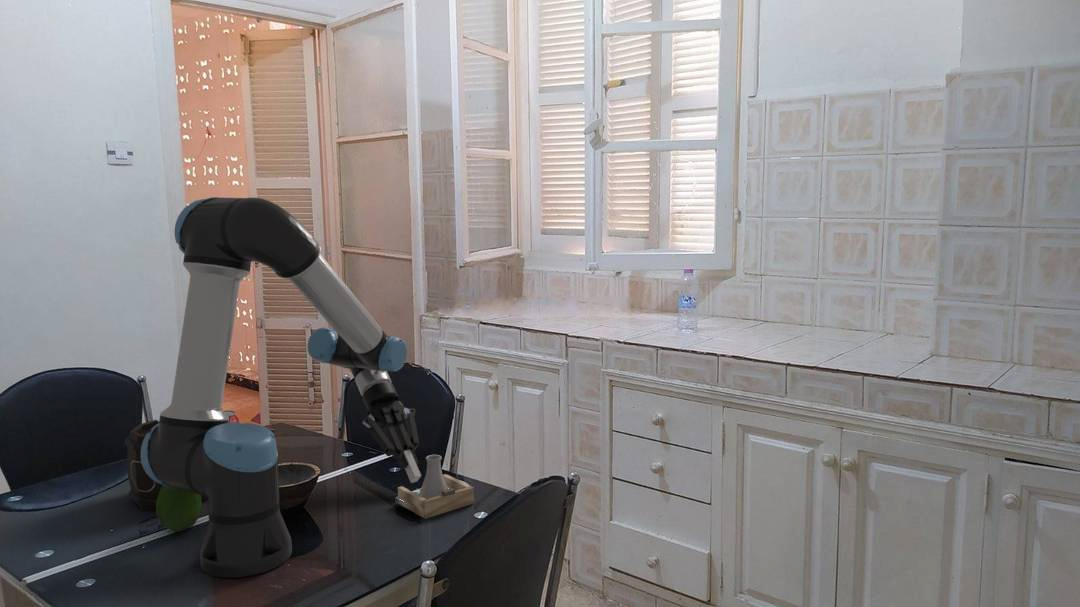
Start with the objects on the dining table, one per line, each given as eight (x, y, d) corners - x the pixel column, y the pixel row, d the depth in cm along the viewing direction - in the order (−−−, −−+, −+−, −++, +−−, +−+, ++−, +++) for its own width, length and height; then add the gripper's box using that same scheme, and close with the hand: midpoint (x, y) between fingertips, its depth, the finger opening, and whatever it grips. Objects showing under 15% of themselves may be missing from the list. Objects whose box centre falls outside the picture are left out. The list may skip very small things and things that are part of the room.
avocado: (208, 520, 150) (204, 462, 149) (195, 537, 143) (191, 476, 141) (166, 522, 149) (162, 463, 148) (150, 539, 142) (146, 478, 140)
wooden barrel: (211, 510, 155) (206, 436, 153) (117, 516, 152) (111, 440, 150) (232, 479, 173) (228, 412, 171) (149, 483, 170) (144, 416, 168)
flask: (434, 493, 164) (433, 449, 163) (459, 501, 160) (458, 455, 159) (409, 504, 158) (408, 458, 157) (435, 512, 154) (434, 465, 153)
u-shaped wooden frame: (474, 503, 158) (474, 483, 158) (425, 519, 151) (424, 498, 150) (446, 489, 166) (445, 470, 166) (398, 503, 159) (397, 483, 158)
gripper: (355, 385, 168) (395, 477, 157) (407, 376, 176) (448, 464, 165) (346, 403, 172) (383, 494, 162) (396, 394, 181) (435, 480, 170)
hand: (416, 479), depth 164 cm, fingers closed
